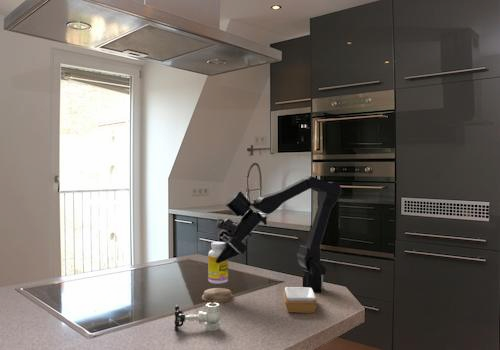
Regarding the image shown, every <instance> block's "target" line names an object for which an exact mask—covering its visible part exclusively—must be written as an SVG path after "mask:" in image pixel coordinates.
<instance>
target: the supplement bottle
mask: <svg viewBox="0 0 500 350" xmlns="http://www.w3.org/2000/svg"><path fill="white" fill-rule="evenodd" d="M210 244H211V245H210V247H211V249H210V250H209V251H208V254H207V256H208V257H207V261H208V262H207V263H208V264H207V265H208V266H207V267H208V268H207V280H208V282H209V284H210V283H211V284H217V285H218V284H225V283H227V282H228V281H229V259H227V260H225V261H223V262H220V263H216V260H217V258H218V256H219V255H220V254H221V252H222V251H223V249H224V248H225V242H218V241H213V242H211V243H210Z"/></svg>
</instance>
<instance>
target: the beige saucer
mask: <svg viewBox="0 0 500 350" xmlns="http://www.w3.org/2000/svg"><path fill="white" fill-rule="evenodd" d="M233 299H234V294H233V293H232V290H231V289H229V288H226V287H225V288H224V287H212V288H208V289H206V290H204V291H203V294H202V296H201V300H203V301H204V302H206V303H211V302H214V303H218V304H221V302H222V303H227V301H228V302H230V301H232V300H233Z"/></svg>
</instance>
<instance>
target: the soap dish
mask: <svg viewBox="0 0 500 350" xmlns="http://www.w3.org/2000/svg"><path fill="white" fill-rule="evenodd" d="M282 292H283V295H282V296H283V300H284V304H285V308H286V311H287V313H301V314H302V313H303V314H304V313H305V314H307V313H309V314H314V313H315V311H316V308H317V306H318V299H317V298H316V294H315V292H313V290H312V288H309V287H303V286H286V287H284V290H282Z"/></svg>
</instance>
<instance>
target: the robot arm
mask: <svg viewBox="0 0 500 350" xmlns="http://www.w3.org/2000/svg"><path fill="white" fill-rule="evenodd" d="M308 190H312V191H315V192H317V193H318V194H317V203H318V206H317V208H316V212H315V214H314V219H313V221H312V224H311V229H310V231H309V235H308V237H307V241H306V243H305V244H304V245H302V244H300V245H299V249H298V252H297V254H296V256H297V262H298V264H299V265H300V266H301V268H302V270H303V271H304V273H303V274H304V275H302V287H309V288H312V290H313V292H314V293H322V292H323V290H324V288H325V287H324V275H325V274H326V272H327V268H326V267H325V266H324V265H323V264H322V263H321V259H322V258H321V256H322V254H321V253H322V251H321V244H322V241H323V237H324V235H325V231H326V228H327V224H328V220H329V217H330V214H331V211H332V208H333V207H334V206H335V205H336V203H337V202H338V200H339V198H340V196H341V194H342V187H341V185H340V184H339V183H337V182H335V181H325V180H322V179H319V178H316V177H315V176H309V175H306V176H305V177H304V178H302V179H300V180H298V181H296V182H294V183H292V184H290V185H288V186H286V187H284V188H282V189H280V190H278V191H276V192H272V193H271V192H270V193H266V194H264V195H260V196H258V197H257V198H256V199H254V200H249V199H248V198H247V197H246V196H245V195H244V194H243V192H242V191H239V190H238V191H237V192H236V193H234V194H233V195H232V196H229V198H228V199H227V200H226V202H225V203H224V206H225V207H226V208H228V210H230V211H231V212H232V213H233V214H234V215H235V216H236V217H238V216H240V217H241V218H239V220H238V221H237V220H236V221H234V222H233V220H231V219H230V218H226V219H223V218H221V217H218V218H217V220H216V222H215V225H214V227H215V228H218V229H219V231H218V232H217V235H218V236H217V240H218V241H217V242H225V248H224V249H223V251H222V252H221V254H220V255H219V256H218V258H217V260H216V263H220V262H223V261H225V260H227V259H228V260H230V259H232V258H234V257H236V256H240V255H242V256H244V255H245V253H247V251H248V250H247V249H248V247H247V245H246V244H245V243H244V241H245V240H246V239H247V237H250V238H251V236H252V232H253V231H255V229H256V228H257V227H258V225H260V223H261V224H262V225H264V226H266V225H268V223H267V216H263V215H262V214H261V213H263V214H266V215H270V214H272V213H273V212H275V211H276V210H277V209H279V208H280V207H281V206H282V204H284V203H286V201H288V200H290V199H292V198H295V197H297V196H298V195H301V194H302V193H304V192H306V191H308ZM253 209H255V210H256V211H254V210H253Z"/></svg>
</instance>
